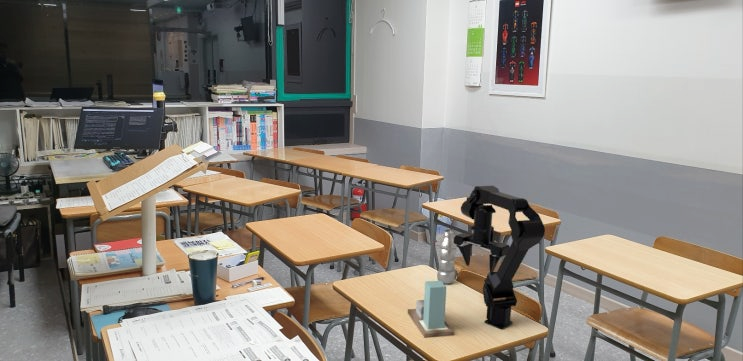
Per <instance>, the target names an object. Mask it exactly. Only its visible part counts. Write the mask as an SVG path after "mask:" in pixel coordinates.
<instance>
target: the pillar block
mask: <svg viewBox="0 0 743 361" xmlns="http://www.w3.org/2000/svg"><path fill="white" fill-rule="evenodd" d="M424 282H425V283H424V294H423V295H424V298H423V300H424V316H423V322H424V324H425V325H426V326H427V328H428V329H436V328H444V322H446V320H445V319H446V304H447V302H446V301H447V286H446V285H445V284H444V283H443V282H442V281H438V280H429V281H427V280H425V281H424Z"/></svg>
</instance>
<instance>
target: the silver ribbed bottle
mask: <svg viewBox="0 0 743 361" xmlns="http://www.w3.org/2000/svg"><path fill="white" fill-rule="evenodd" d="M454 234H455V233H454V230H453V229H444V230H443V234H442V236H443V237H442V239H441V240H440V241H439V244H438V250H439V264H438V269H437V273H436V277H437V278H436V279H437V281H442V282H443V284H444V285H445V284H448V285H449V284H452V283H454V282H455V279H456V274H455V273H456V271H455V259H456V252H457V248H458V247H457V246H456V245H457V244H454V243H453V241H454V237H455V235H454Z"/></svg>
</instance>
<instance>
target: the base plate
mask: <svg viewBox="0 0 743 361" xmlns="http://www.w3.org/2000/svg"><path fill="white" fill-rule="evenodd" d="M415 305H416V308H408V309H407V314H408V316H409V317H410V319H411V320H412V322H413V323H414V325H415V326H416V328H417V329H418V330H419V332H420V334H421V335H422V337H423V338H434V337H445V336H454V330H453V329H452V328H451V327H450V325H449V324H448V323H447V321H445V322H444V328H436V329H428V328H427V326H426V325H425V324H424V322H423V316H424V299H419V300H416V304H415Z"/></svg>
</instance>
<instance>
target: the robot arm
mask: <svg viewBox="0 0 743 361" xmlns="http://www.w3.org/2000/svg"><path fill="white" fill-rule="evenodd" d="M493 206H494V207H495V206H496V207H497V208H501V209H505V210H506V211H508V213H509V216H508V226H509V227H510V230H511V231H510V237H511V240H512V242H511V244H507V243H504V242H500V240H501V239H500V238H501V235H502V233H501V232H499V231H496V230H495V228H494V226H492V225H493V224H492V222H493V214H495V213H497V211H496V209H495V208H494V207H493ZM460 211H461V214H462V215H463V216H465V217H467V218H469V219H471V220H473V225H471V227H470V230H472V234H468V233H467V232H466V233H465V232H462V233H458V234H456V235H454V236H453V238H454V241H453V243H454V244H457V245H456V246H457V248H458V249H459V251H460V253H461V256H462V258H463V259H464V263H465V265H466V266H467V267H469V266H470V264H471V250H472V247H473V246H476V247H479V248H483V249H488V250H489V251H490V253H491V254H489V255H488V259H489V271H488V273H487V275H486V278H485V279H483V280H484V283H483V286H482V293H483V302H484V304H485V307H486V316H485V317H486V319H485V320H484V323H485V324H487V325H490V326H493V327H495V328H496V329H497V328H498V329H500V330H504V329H505V328H507V327H509V326H511V325H512V324H513V321H512V320H511V315H512V307H515V306H516V305H517V302H518V299H517V296H516V293H515V291H514V283H513V279H514V277H515V275H516V273H517V271H518V270H519V267H520V266H521V264H522V262H523V261H524V259H525V257H526V255H527V253H528V251H529V250H530V249H531V248H533V247H534V246H536V245H538V244H539V243H540V242H541V240H542V239H543V238H544V236H545V233H546V229H545V225H544V222H543V221H542V218H541V216H540V215H539V213H538V212H536V211H535V210H534V208H532V207H531V206H530V204H529V202H528V200H527V199H526V198H523V197H517V196H514V195H510V194H508V193H504V192H500V190H499V188H498V187H496V186H494V185H476V186H474V188H473V189H472V191H471V193H470V195H469V196H466V200H464V202H463V203H462V204H461V206H460ZM517 213H522V214H523V216H525V217H526V218H527V219H524V220H522V219H521V220H517V217H516V214H517ZM495 242H496V243H495ZM501 258H503V259H502V261H501V263H500V265H499V267H498V269H497V271H495V268H496V267H497V265H498V262H499V261H500V260H501Z"/></svg>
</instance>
